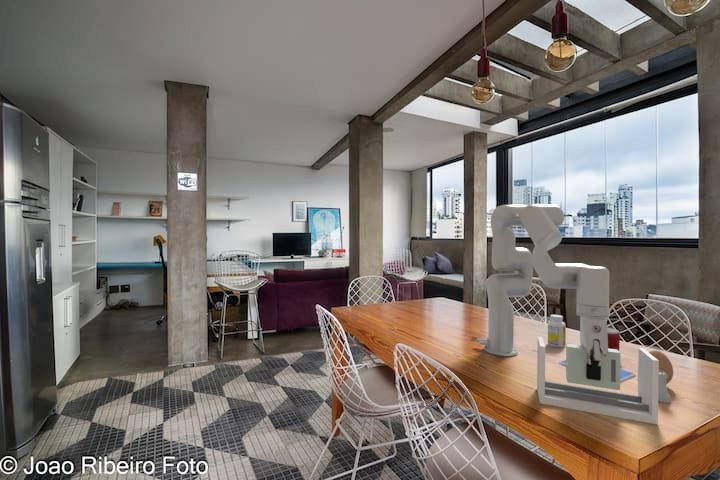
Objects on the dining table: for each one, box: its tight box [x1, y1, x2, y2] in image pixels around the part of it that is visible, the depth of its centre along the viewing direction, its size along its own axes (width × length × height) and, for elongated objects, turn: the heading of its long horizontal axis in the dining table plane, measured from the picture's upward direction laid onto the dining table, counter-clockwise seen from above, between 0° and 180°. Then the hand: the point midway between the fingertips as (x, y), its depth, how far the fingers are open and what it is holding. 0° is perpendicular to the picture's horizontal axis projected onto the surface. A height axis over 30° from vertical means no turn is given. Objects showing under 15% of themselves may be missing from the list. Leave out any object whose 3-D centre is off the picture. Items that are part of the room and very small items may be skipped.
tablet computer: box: [558, 359, 636, 383], centre depth 119 cm, size 19×13×1 cm, turn 29°
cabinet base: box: [536, 336, 659, 425], centre depth 93 cm, size 26×10×16 cm, turn 66°
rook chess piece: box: [658, 371, 672, 404], centre depth 97 cm, size 4×4×8 cm
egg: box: [648, 350, 674, 385], centre depth 107 cm, size 8×8×11 cm
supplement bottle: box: [547, 314, 567, 348], centre depth 146 cm, size 7×7×13 cm
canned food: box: [607, 327, 621, 352], centre depth 131 cm, size 8×8×11 cm
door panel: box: [565, 343, 621, 391], centre depth 93 cm, size 12×3×10 cm, turn 66°
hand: (591, 376), depth 93 cm, fingers closed on door panel, 3 cm apart
